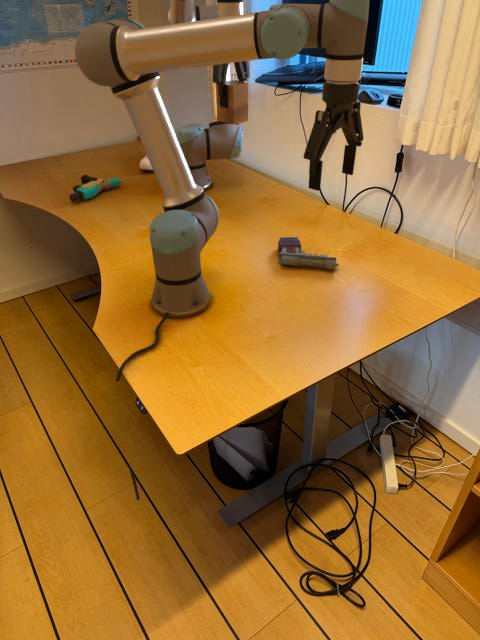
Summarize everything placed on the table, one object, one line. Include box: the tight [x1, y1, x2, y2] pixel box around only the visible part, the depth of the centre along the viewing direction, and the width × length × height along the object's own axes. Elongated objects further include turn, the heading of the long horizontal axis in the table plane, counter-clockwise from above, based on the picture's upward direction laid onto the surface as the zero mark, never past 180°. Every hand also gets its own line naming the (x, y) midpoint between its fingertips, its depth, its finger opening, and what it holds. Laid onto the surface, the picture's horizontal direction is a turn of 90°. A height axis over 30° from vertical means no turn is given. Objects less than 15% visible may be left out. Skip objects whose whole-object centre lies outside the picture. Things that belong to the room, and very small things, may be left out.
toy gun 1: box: [69, 174, 122, 203], centre depth 188 cm, size 4×26×15 cm
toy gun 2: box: [277, 236, 339, 270], centre depth 142 cm, size 4×19×15 cm
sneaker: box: [139, 154, 153, 171], centre depth 214 cm, size 10×29×12 cm, turn 163°
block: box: [216, 79, 249, 125], centre depth 151 cm, size 8×7×11 cm
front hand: (331, 181), depth 111 cm, fingers open, 13 cm apart
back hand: (232, 105), depth 151 cm, fingers closed on block, 7 cm apart
